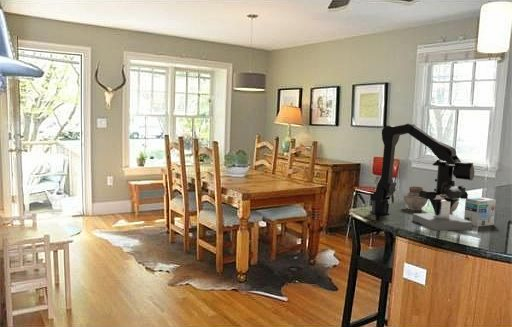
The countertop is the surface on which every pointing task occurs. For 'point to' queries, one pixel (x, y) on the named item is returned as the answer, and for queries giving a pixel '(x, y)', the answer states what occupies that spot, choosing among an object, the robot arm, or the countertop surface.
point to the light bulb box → (480, 211)
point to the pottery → (420, 199)
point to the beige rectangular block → (443, 210)
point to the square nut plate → (442, 222)
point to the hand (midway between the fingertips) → (441, 215)
